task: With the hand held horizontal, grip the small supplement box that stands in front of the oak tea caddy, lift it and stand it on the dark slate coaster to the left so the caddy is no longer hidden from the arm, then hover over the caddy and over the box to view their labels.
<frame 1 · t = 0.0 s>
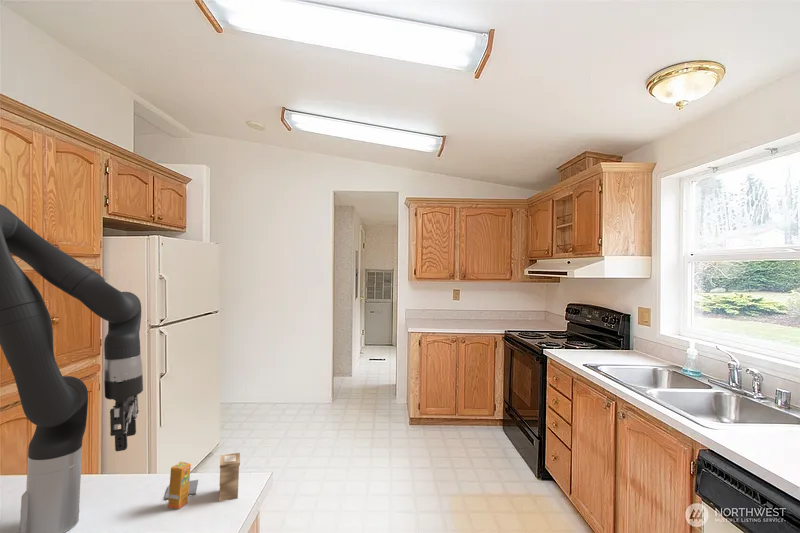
hand: (126, 442, 93), 17 cm above the countertop, tool pointing down, fingers open, 8 cm apart
supplement box: (178, 505, 97), on the countertop
tea caddy: (228, 494, 103), on the countertop
coaster: (182, 490, 104), on the countertop
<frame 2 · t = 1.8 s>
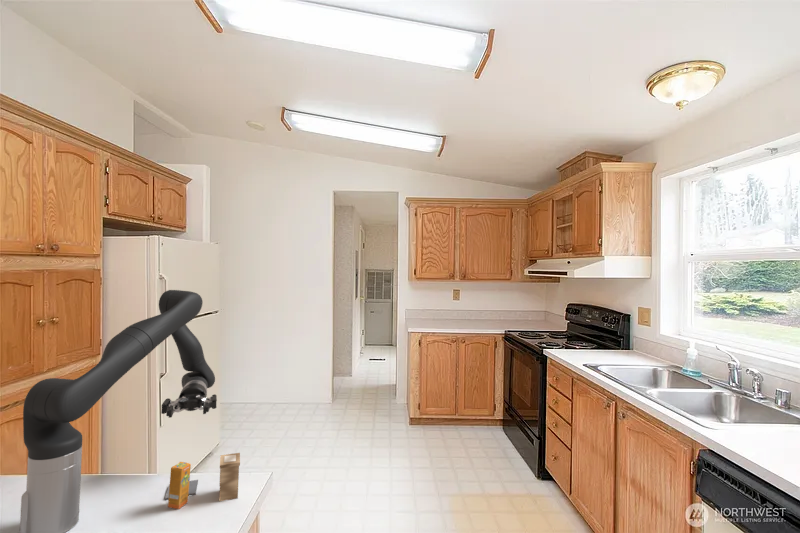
hand: (187, 412, 109), 19 cm above the countertop, tool horizontal, fingers open, 8 cm apart
nothing on the countertop moved.
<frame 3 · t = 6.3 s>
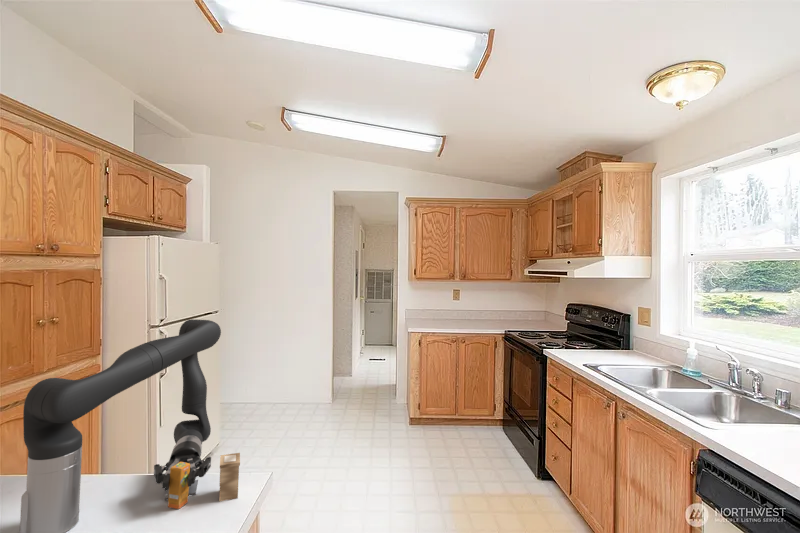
hand: (178, 484, 95), 7 cm above the countertop, tool horizontal, fingers closed on supplement box, 4 cm apart
supplement box: (178, 505, 97), on the countertop, touching gripper
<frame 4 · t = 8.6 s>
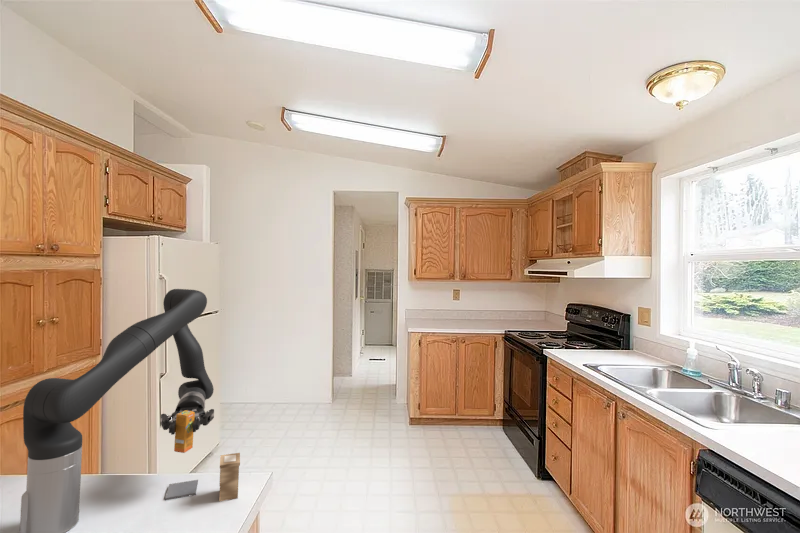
hand: (183, 429, 102), 17 cm above the countertop, tool horizontal, fingers closed on supplement box, 4 cm apart
supplement box: (184, 450, 104), point 11 cm above the countertop, touching gripper
when the fingers open (7 cm above the countertop, at t = 10.7 s): supplement box stays where it is, resting on coaster.
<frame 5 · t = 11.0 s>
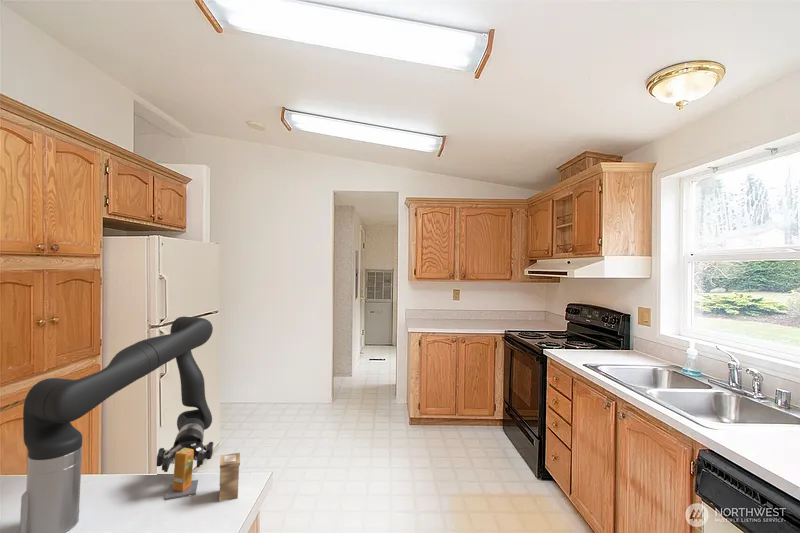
hand: (182, 466, 102), 7 cm above the countertop, tool horizontal, fingers open, 7 cm apart
supplement box: (182, 488, 104), resting on coaster
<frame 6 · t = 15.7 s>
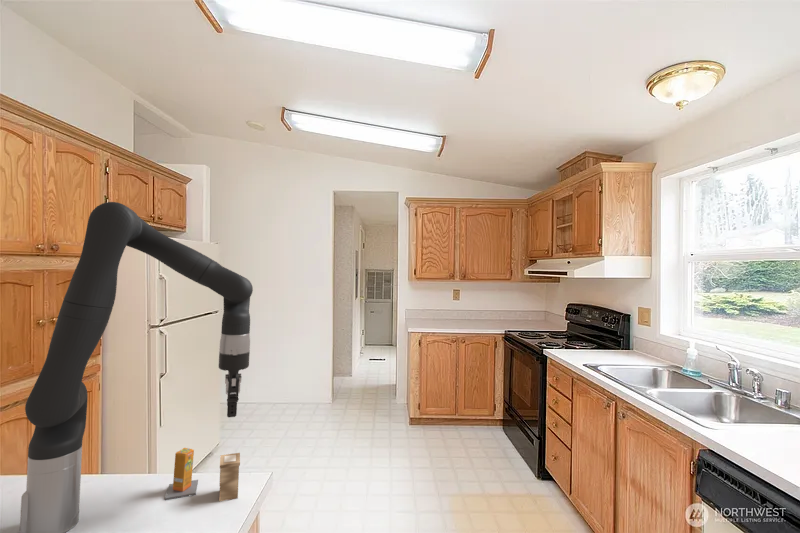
hand: (231, 411, 104), 22 cm above the countertop, tool pointing down, fingers open, 8 cm apart
nothing on the countertop moved.
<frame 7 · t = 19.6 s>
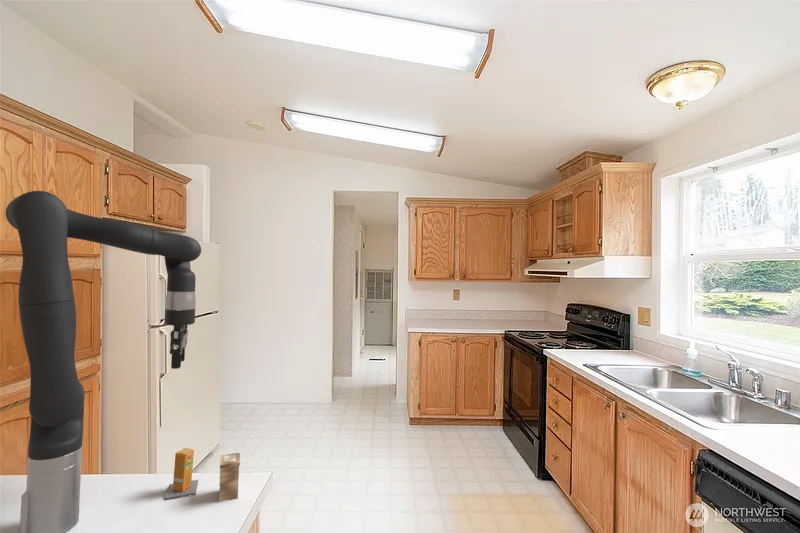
hand: (178, 364, 110), 32 cm above the countertop, tool pointing down, fingers open, 8 cm apart
nothing on the countertop moved.
at the end: supplement box inside the target area on the coaster (0.1 cm from its centre), point 0.3 cm above the coaster's base; supplement box tilted 0°; the gripper is holding nothing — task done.
